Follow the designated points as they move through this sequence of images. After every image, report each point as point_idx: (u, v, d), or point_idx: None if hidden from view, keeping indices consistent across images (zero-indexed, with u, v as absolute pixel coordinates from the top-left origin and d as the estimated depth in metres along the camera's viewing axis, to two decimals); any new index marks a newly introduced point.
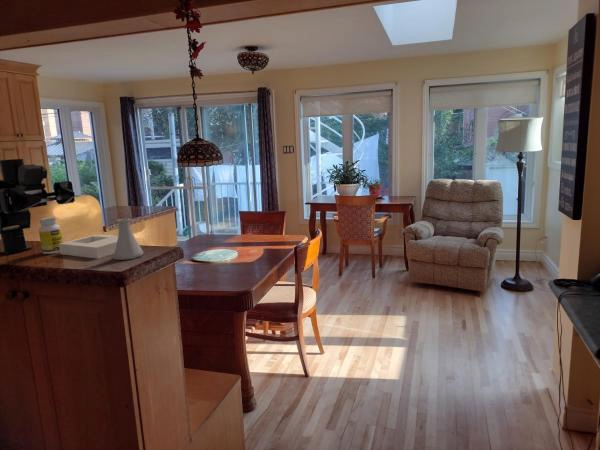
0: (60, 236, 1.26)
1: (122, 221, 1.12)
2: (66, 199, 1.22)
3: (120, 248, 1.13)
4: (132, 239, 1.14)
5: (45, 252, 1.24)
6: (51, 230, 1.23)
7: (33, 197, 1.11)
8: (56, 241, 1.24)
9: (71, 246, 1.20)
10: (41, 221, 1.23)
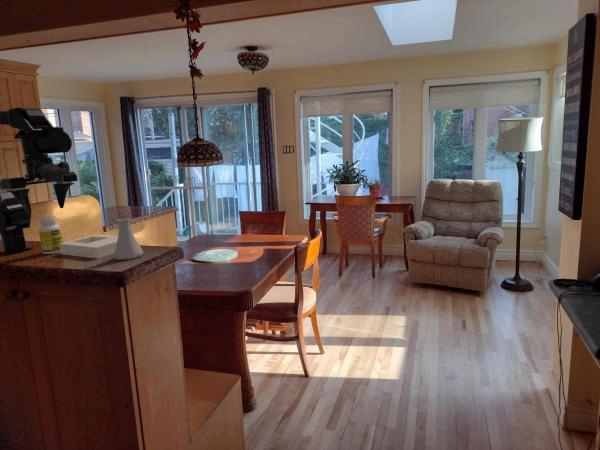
0: (60, 236, 1.26)
1: (122, 221, 1.12)
2: (56, 194, 1.28)
3: (120, 247, 1.13)
4: (132, 239, 1.14)
5: (45, 252, 1.24)
6: (51, 230, 1.23)
7: (27, 208, 1.19)
8: (56, 241, 1.24)
9: (71, 246, 1.20)
10: (41, 221, 1.23)
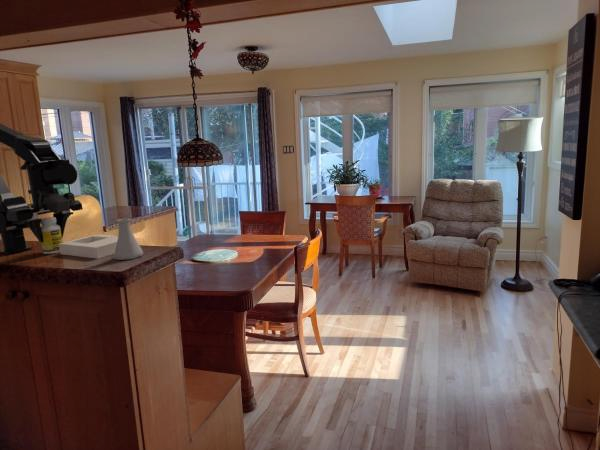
0: (60, 236, 1.26)
1: (122, 221, 1.12)
2: (56, 223, 1.28)
3: (120, 248, 1.13)
4: (132, 239, 1.14)
5: (45, 252, 1.24)
6: (51, 230, 1.23)
7: (39, 237, 1.22)
8: (56, 241, 1.24)
9: (71, 246, 1.20)
10: (41, 221, 1.23)
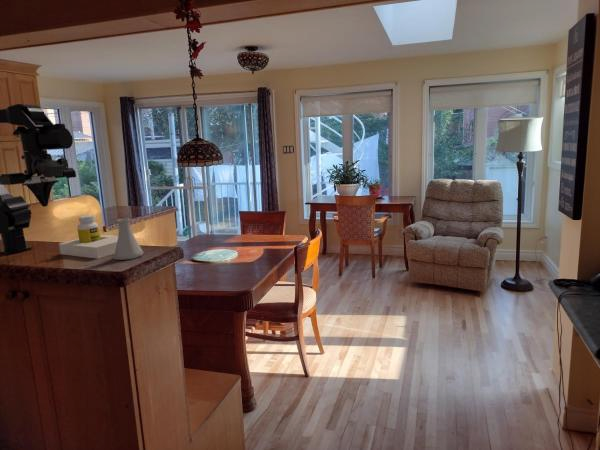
0: (98, 234, 1.25)
1: (122, 221, 1.12)
2: None
3: (120, 248, 1.13)
4: (132, 239, 1.14)
5: None
6: (90, 228, 1.23)
7: (42, 201, 1.25)
8: (95, 239, 1.24)
9: (71, 246, 1.20)
10: (80, 219, 1.23)
